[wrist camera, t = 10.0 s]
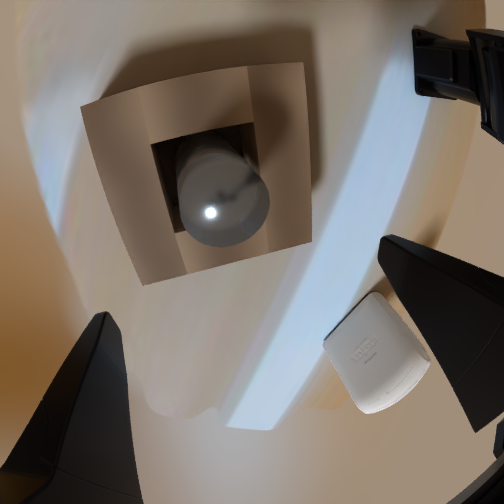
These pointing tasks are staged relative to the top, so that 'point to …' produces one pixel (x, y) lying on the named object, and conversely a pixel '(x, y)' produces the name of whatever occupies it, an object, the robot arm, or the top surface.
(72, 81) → the top surface
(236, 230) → the grey metal cylinder
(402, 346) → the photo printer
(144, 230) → the socket block
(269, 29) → the top surface
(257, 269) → the top surface
